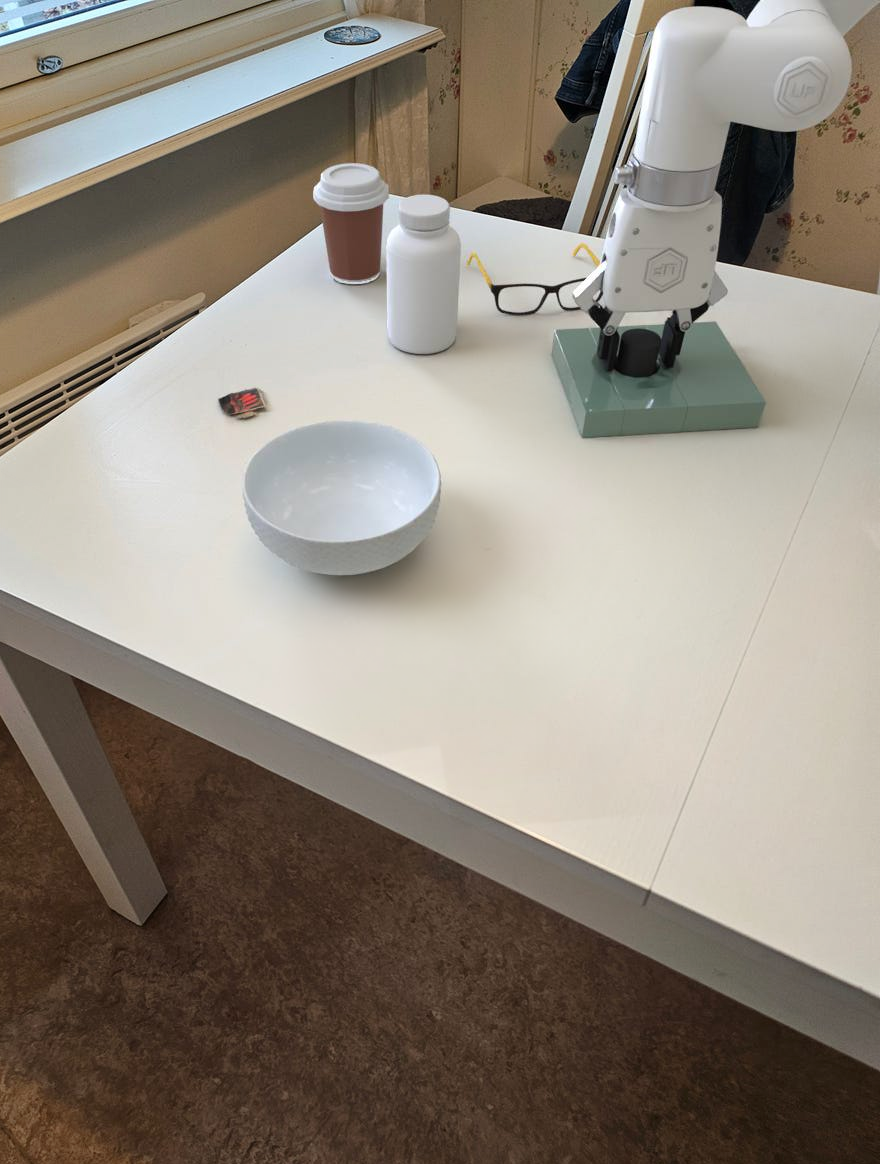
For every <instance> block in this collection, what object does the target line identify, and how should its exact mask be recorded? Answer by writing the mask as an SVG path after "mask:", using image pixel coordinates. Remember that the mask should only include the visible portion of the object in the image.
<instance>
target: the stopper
mask: <svg viewBox="0 0 880 1164" xmlns="http://www.w3.org/2000/svg"><path fill="white" fill-rule="evenodd" d="M660 344H661V337H660V336H659V335H658V334H657V333H655V332H653V331H651V330H647V329H641V328H636V329H630V330H627V331H625V332H624V333H623V334H622V335H621V340H620V346H619V351H618V357H617V362H616V368H615V370H616V371H617V372H619V373H621V374H622V375H625V376H630V377H634V378H642V377H650V376H652V375H654V372H655V367H656V363H657V358H658V354H659V349H660Z"/></svg>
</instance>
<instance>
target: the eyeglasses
mask: <svg viewBox="0 0 880 1164" xmlns="http://www.w3.org/2000/svg"><path fill="white" fill-rule="evenodd" d="M582 248H583V249H585V252H587V254H588V256H589V257H590V258H591V260H592V261H593V262H594V264H595V265H596V267H597V268H598V267H599V265H600V260H599V259H598V257H596V255H595V254H594V253H593V252H592V250H591V249H590V248H589V247H588V246H587V244H586V243H580V244H579V245H578V246H577V247H576V248H575V249H574V250H573V251H572V256H573V255H574V256H573V257H576V256H577V254H578V253H579V251H580V249H582ZM473 258H474V259H475V261H476V263H477V265H478V267H479V269H480V271H481V274H482V275H483V277H484V279H485V281H486V284H487V286H488V288H489V290H490V292H491V294H492V295H493V297H494V302H495V303H494V304H495V307H496V309H497V311H498V312H500V313H502V314H505V315H511V316H527V315H533V314H536V313H537V312H538V311H539V310H540V309H541V308H542V306H543V305H544V303H545V301H546V299H547V297H548V296H549V294H555V295H556V299H557V303H558V305H559V307H560V309H562V310H563V311H578V310H582V309H581V308H580V307H579V306H575V307H570V306H569V307H568V306H567V307H566V306H565V305H563V304H562V303H561V299H560V290H561V289H562V288H564V287H565V286H568V285H572V284H575V283H580V282H581V283H582V282H584V281H585V280H586V279H587V278H588V277H581V278H576V279H572V280H568V281H565V282H562V283H558V284H555V285H546V284H541V283H509V284H508V283H507V284H493V281H492V280H491V278H490V277H489V275H488V273H487V271H486V269H485V267H484V266H483V264H482V263H481V260H480V259H479V257H478V255H477V254H476V253H475V252H473V253H470V255H469V256H468V259H467V261H466V265H467V266H468V265H469V266H470V264H471V262H472V260H473ZM517 287H518V288H519V287H532V288H533V287H534V288H541V289H544V293H543V295H542V297H541V299H540V301H539V304H538V305H537V306H536V308H533V309H532V310H527V311H523V312H522V311H521V312H518V311H517V312H516V311H510V310H504V309H502V308H501V307H500V303H499V302H500V301H499V300H500V299H499V297H500V293H501V292H502V290H504V289H508V288H517ZM599 291H600V290H599ZM602 298H603V292H602V291H600V292H599V294H598V296H597V297H596V299H595V300H596V301H597V302H598V303H599V302H600V301H601V299H602Z"/></svg>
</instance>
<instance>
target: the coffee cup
mask: <svg viewBox="0 0 880 1164" xmlns="http://www.w3.org/2000/svg"><path fill="white" fill-rule="evenodd" d="M389 187H390V186H389V184H388V183H386V182H385V181H384V179H382V178H381V173H380V171H378V169H377V168H376V167H374V166H371V165H368V164H365V163H357V162H353V163H352V162H347V163H341V164H335V165H333V166H330V167H328V168H326V169H325V170H323V171H322V173H321V174H320V181H318V183H317V184H316V185H314V187H313V192H312V195H313V200H314V202H315V203H316V204H317V205H318V206H319V209H320V216H321V221H322V228H323V235H324V240H325V247H326V253H327V258H328V259H327V260H328V266H329V273H330V272H331V274H332V275H333V277H335V278H338V279H340V280H342V281H347V282H362V281H367V280H371V279H372V278H375V277H376V276H377V275H378V274H379V272H380V273H381V265H382V264H381V263H382V241H383V223H384V222H383V221H384V220H383V219H384V204H385V203H386V201H388V200H389V198H390V189H389Z"/></svg>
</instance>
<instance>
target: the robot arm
mask: <svg viewBox="0 0 880 1164" xmlns="http://www.w3.org/2000/svg"><path fill="white" fill-rule="evenodd" d="M878 4H880V0H759V1H758V2H757V4H756V5H755V6H754V8H753V10H752V11H751V12H750V13H749V14H748V17H747V18H746V19H745V17H743V15H741V14H739V13H737V12H735V11H733V10H730V9H726V8H723V7H715V6H687V7H680V8H678V9H674V10H671V11H668V12H667V13H665V14H664V15H663V16H662V17H661V18H660V19H659V20H658V22H657V25H656V27H655V28H654V30H653V33H652V39H651V44H650V49H649V50H650V51H649V56H648V62H647V67H646V75H645V81H644V86H643V93H642V99H641V104H640V111H639V115H638V116H639V117H638V124H637V129H636V135H635V143H634V147H633V153H630V159H629V160H628V163H627V164H624V165H623V166H616V167H615V168H614V172H613V173H614V174H613V181H614V184H615V185H617V184H622V185H623V186H626V187H624V188H622V189H621V190H620V192H619V195H618V197H617V200H616V203H615V205H614V208H613V211H612V215H611V217H610V220H609V224H608V227H607V231H606V234H605V239H604V243H603V247H602V251H601V256H600V260H599V261H600V265H599V267H598V266H597V267H596V268H595V270H594V271H592V272H591V274H590V275H589V276H588V277H586V278H587V279H586V280H585V281H582V282H581V283H580V284H579V286H578V287H577V288H576V289H574V291H573V292H572V299H573V301H574V303H575V305H577V307H580V308H581V309H580V310H582V311H583V312H584V313H586V314H587V315H588V316H589V317H590V319H591V320H592V321H593V322H594V323H595V324H596V325H597V326H598V328H599V327H600V328H601V329H600V335H599V342H598V348H597V356H598V359H599V360H602V362H603V364H604V366H605V369H606V371H612V370H614V368H615V363H616V357H617V352H618V346H619V340H620V336H619V333H618V331H617V328H618V326H620V324H621V322H622V320H623V318H624V316H625V315H626V314H627V313H628V314H629V313H631V314H632V313H650V312H669V311H671V315H670V317H669V316H668V317H667V318H666V320H664V324H665V325H664V329H663V334H662V338H661V344H660V349H659V355H660V357H661V359H662V361H663V363H664V365H665V367H667V368H673V367H674V363H675V358H676V356H678V355H680V352H681V348H682V343H683V339H684V335H685V331H688V330H689V329H690V328H691V327H692V323H695V322H696V321H697V320H698V319H699V318H701V317H702V316H703V315H704V314H705V313H707V311H708V310H709V308H711V307H713V306H715V304H717V303H718V302H719V301H721V300H722V299H724V298H725V297H726V296H727V295H728V292H729V290H728V288H727V286H726V285H725V283H724V282H723V280H722V279H721V278H720V276H719V275H718V273H717V271H716V265H717V258H718V252H719V244H720V235H721V226H722V215H723V214H722V211H723V210H722V209H723V198H722V196H721V195H720V194H719V193H718V192H717V191H716V190H715V189H716V186H717V181H718V177H719V173H720V168H721V164H722V160H723V156H724V151H725V147H726V142H727V138H728V134H729V130H730V127H731V123H735V124H741V125H746V126H751V127H754V128H759V129H763V130H769V131H775V132H783V133H785V132H786V133H788V132H799V131H802V130H806V129H809V128H812V127H814V126H816V125H818V124H819V123H821V122H823V121H824V120H826V119H827V118H828V117H830V116H831V115H832V114H833V112H835V110H836V109H837V108H838V107H839V105H840V104H841V103H842V101H843V100H844V98H845V95H846V94H847V91H848V89H849V87H850V82H851V77H852V71H853V69H852V68H853V67H852V57H851V53H850V49H849V46H848V43H847V42H846V40H845V38H844V36H845V35H847V33H848V32H849V31H850V30H851V29H853V27H855V25H856V24H858V23H859V22H860V21H861V20H862V19H863V18H864V17H865V16H866V15H867V14H868V13H869V12H870V11H871V10H872V9H874V8H875V6H877V5H878ZM599 291H602V292H603V295H602V299H603V305H601V304H600V303H599V301H598V302H597V301H596V299H594V296H595V295H596V294H597V293H598V292H599Z"/></svg>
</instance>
